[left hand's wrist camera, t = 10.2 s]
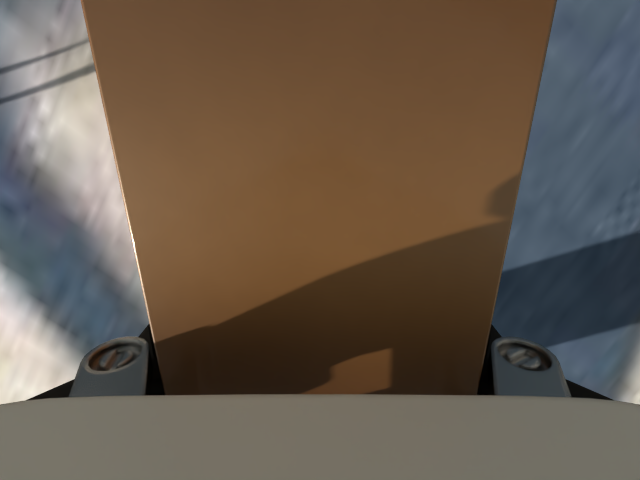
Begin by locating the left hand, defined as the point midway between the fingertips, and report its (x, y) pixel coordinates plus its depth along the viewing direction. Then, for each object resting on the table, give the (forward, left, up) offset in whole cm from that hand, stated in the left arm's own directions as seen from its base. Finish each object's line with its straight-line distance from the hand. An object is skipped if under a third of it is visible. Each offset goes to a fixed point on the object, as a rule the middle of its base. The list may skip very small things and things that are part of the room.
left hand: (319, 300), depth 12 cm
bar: (-2, +22, -3) cm, 22 cm away
